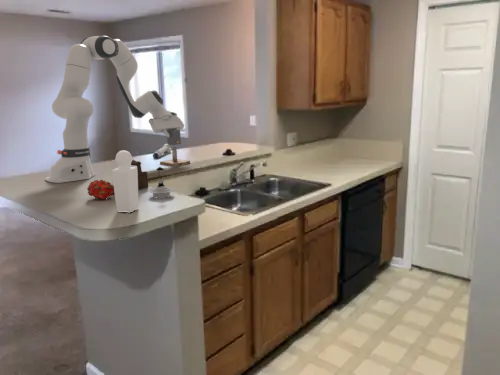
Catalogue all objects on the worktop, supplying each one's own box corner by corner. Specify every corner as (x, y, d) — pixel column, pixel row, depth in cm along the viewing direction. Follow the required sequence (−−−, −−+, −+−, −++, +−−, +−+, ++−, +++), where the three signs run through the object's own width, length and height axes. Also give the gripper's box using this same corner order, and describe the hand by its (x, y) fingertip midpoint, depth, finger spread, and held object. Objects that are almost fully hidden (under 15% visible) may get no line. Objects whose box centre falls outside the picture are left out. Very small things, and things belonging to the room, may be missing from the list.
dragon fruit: (87, 201, 175) (116, 206, 174) (80, 194, 167) (111, 198, 167) (93, 182, 178) (122, 186, 178) (86, 174, 170) (117, 178, 170)
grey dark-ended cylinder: (151, 152, 265) (163, 141, 288) (152, 163, 267) (164, 151, 290) (159, 152, 264) (171, 141, 287) (160, 163, 266) (172, 151, 289)
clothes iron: (131, 182, 202) (128, 153, 199) (149, 187, 191) (147, 157, 187) (115, 185, 196) (112, 156, 193) (133, 191, 185) (130, 160, 182)
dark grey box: (174, 145, 240) (173, 130, 238) (166, 144, 244) (166, 130, 242) (181, 144, 244) (180, 129, 242) (174, 143, 248) (173, 129, 246)
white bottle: (125, 208, 160) (120, 148, 155) (140, 209, 158) (136, 149, 153) (114, 213, 154) (109, 151, 148) (131, 214, 152) (126, 152, 147)
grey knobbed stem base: (161, 163, 180) (141, 167, 172) (177, 166, 173) (157, 170, 166) (163, 192, 182) (143, 197, 175) (179, 196, 176) (159, 201, 169)
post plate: (173, 166, 239) (172, 149, 236) (160, 164, 246) (159, 147, 244) (190, 163, 247) (189, 147, 245) (176, 161, 255) (175, 145, 253)
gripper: (149, 115, 237) (161, 134, 233) (178, 112, 252) (190, 130, 248) (145, 123, 241) (157, 141, 237) (173, 120, 256) (185, 138, 252)
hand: (174, 136), depth 243 cm, fingers closed on dark grey box, 5 cm apart
